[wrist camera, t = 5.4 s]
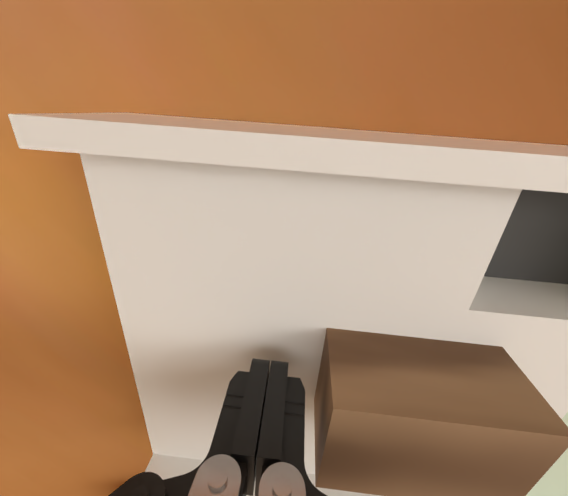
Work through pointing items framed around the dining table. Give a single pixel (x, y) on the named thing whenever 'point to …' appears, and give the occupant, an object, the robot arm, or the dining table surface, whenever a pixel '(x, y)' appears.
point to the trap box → (314, 254)
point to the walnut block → (429, 419)
